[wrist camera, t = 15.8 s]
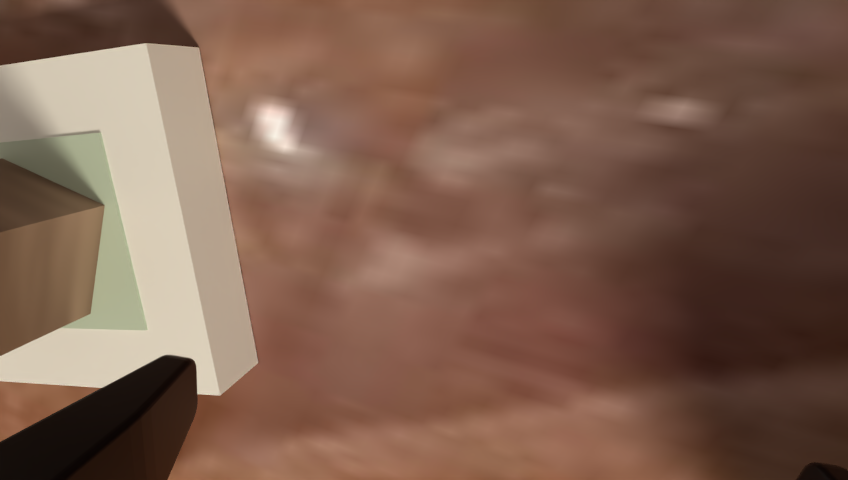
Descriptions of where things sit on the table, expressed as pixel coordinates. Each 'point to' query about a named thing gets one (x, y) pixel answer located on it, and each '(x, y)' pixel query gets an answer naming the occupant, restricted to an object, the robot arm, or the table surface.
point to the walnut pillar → (44, 255)
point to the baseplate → (134, 213)
